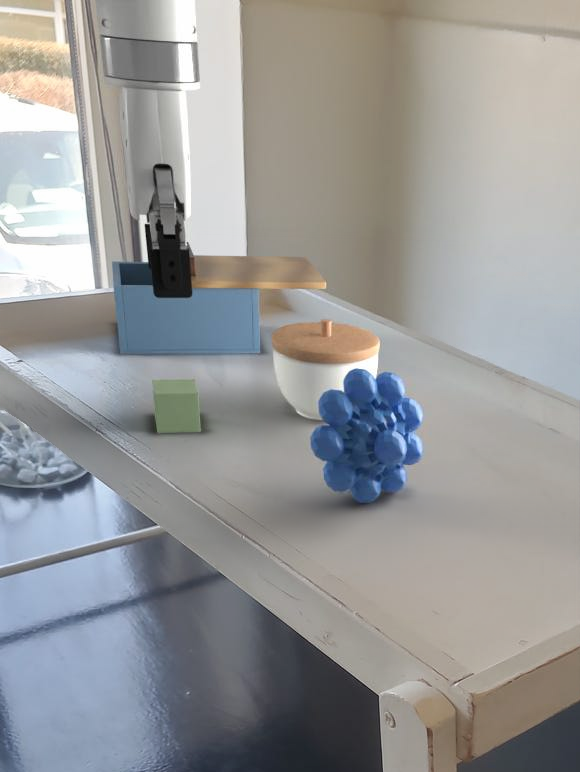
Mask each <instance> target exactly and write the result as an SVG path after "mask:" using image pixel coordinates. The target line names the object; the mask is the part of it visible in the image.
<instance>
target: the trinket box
mask: <svg viewBox="0 0 580 772" xmlns="http://www.w3.org/2000/svg"><path fill="white" fill-rule="evenodd" d="M380 344H381V342H380V339H379V337H378V336H377V335H376V334H375V333H373V332H371V331H370V330H367V329H364V328H361V327H358V326H354V325H349V324H345V323H337V322H332V319H330V318H329V319H328V318H322V319H320V321H309V322H297V323H292V324H286V325H284V326H281V327H279V328H277V329H275V330H274V331H273V332H272V334H271V347H272V359H273V370H274V374H275V379H276V383H277V386H278V388H279V390H280V392H281V394H282V396H283V397H284V399H285V400H286V401H287V403H288V404H289V405H291V406H292V407H293V408H294V409H295V411H296V413H297V414H299V415H300V416H302V417H304V418H307V419H310V420H316V421H323V420H322V418H321V416H320V414H319V407H318V401H319V399H320V397H321V396H322V394H323V393H324V392H326V391H328V390H330V389H333V390H341V391H342V392H344V383H343V380H344V378H345V376H346V375H347V373H348V372H349V371H351V370H353V369H355V368H359V369H366V370H367V371H369V372H370V373H371V374H373V376H374V378H375V379H376V377H377V373H378V367H379V366H378V365H379V352H380V347H381V345H380Z"/></svg>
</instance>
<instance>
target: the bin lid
mask: <svg viewBox="0 0 580 772" xmlns="http://www.w3.org/2000/svg"><path fill="white" fill-rule="evenodd" d="M186 246H187V248H189V254H190V267H191V280H192V288H242V289H258V290H259V289H260V290H262V289H263V290H266V289H267V290H275V289H276V290H326V289H327V282H326V280H325V279H324V277H322V275H321V274H320V272H319V271H318V270H317V269H316V268H315V266H314V265H313V263H312V262H311V261H310V260H309V259H308V257H306V256H260V255H259V256H255V255H206V254H205V255H204V254H203V255H199V254H194V253H193V250H192V248H191V245H190V243H189V241H186Z"/></svg>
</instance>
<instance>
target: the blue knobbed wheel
mask: <svg viewBox="0 0 580 772" xmlns="http://www.w3.org/2000/svg"><path fill="white" fill-rule="evenodd" d="M343 383H344V392H342V391H341V390H333V389H330V390H328V391H326V392H324V393H323V394H322V396H321V397H320V399H319V401H318V407H319V414H320V416H321V418H322V420H321V421H322V422H324V423H325V424H322V425H320V426H316V427H315V428H314V430H313V431H312V432H311V435H310V437H309V439H310V441H309V442H310V449H311V451H312V452H313V453H312V454H313V455H314V456H315V457H316V458H318V460H321V461H323V462H325V464H324V465H323V468H322V472H323V481H324V483H325V484H326V486H327V487H328V488H329V489H331V490H333V492H340V493H344V492H347V491H349V493H350V494H351V496H352V499H354V500H355V501H356V502H358V503H360V504H370V503H372V502H373V503H374V502H375V501H376V500H378V499H379V497H380V496H381V492H382V490H383V491H384V492H386V493H392V494H394V493H398V492H400V491H402V490H403V489H404V488H405V487H406V485H407V481H408V472H407V470H406V467H405V466H413V465H415V464H417V463H419V462H420V460H422V458H423V455H424V454H423V453H424V444H423V441H422V440H421V438H420V436H418V435H417V434H416V433H414V432H415V431H417V430H419V429H420V427H421V426H422V424H423V422H424V421H423V420H424V413H423V409H422V407H421V405H420V403H419V402H418V401H417V400H415V399H414V398H411V397H406V385H405V383H404V382H403V380H402V378H401V377H400V376H398V375H397V373H395V372H387V371H383V372H382V373H379V374H378V375H376V379H375V378H374V376H373V374H371V373H370V372H369V371H367V370H366V369H359V368H355V369H353V370H351V371H349V372H348V373H347V375H346V376H345V378H344V380H343Z"/></svg>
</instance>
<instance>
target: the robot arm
mask: <svg viewBox="0 0 580 772" xmlns="http://www.w3.org/2000/svg"><path fill="white" fill-rule="evenodd" d="M95 7H96V9H95V10H96V17H97V27H98V34H99V37H98V38H99V45H100V54H101V64H102V71H103V72H102V73H103V82H104V84H107V85H108V84H109V85H112V86H116V87H118V107H119V121H120V122H119V123H120V131H121V132H120V133H121V142H122V150H123V151H122V153H123V164H124V170H125V181H126V190H127V198H128V207H129V212H130V216H131V217H132V218H133V219H134V220H135V221H140V215H141V216H146V223H144V234H145V243H146V254H147V262H148V265H149V268H150V269H151V271H152V282H153V292H154V295H155V297H157V298H190V297H191V296H192V280H191V267H190V254H189V248H187V246H186V242H187V238H186V237H187V235H186V229H185V228H186V227H185V221H187V220H188V219H189V218H190V217H191V216H192V181H191V179H192V178H191V176H192V175H191V174H192V173H191V149H190V133H189V116H188V103H187V91H195V90H196V91H197V90H200V89H201V76H200V61H199V47H198V46H199V45H198V33H197V32H198V30H197V17H196V15H197V14H196V0H95Z"/></svg>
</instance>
